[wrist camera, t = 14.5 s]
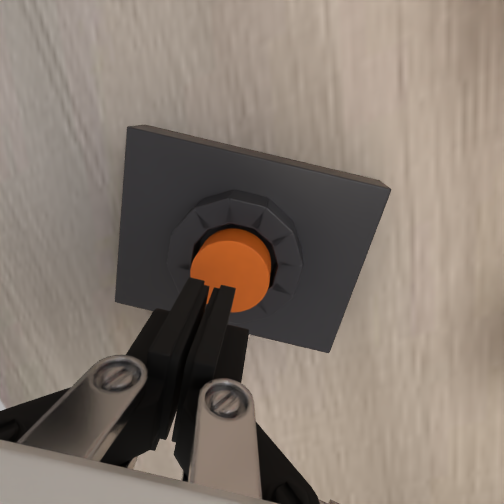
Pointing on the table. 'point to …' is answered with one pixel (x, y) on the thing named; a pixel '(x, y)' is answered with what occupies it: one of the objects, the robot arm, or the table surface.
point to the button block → (246, 218)
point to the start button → (234, 266)
